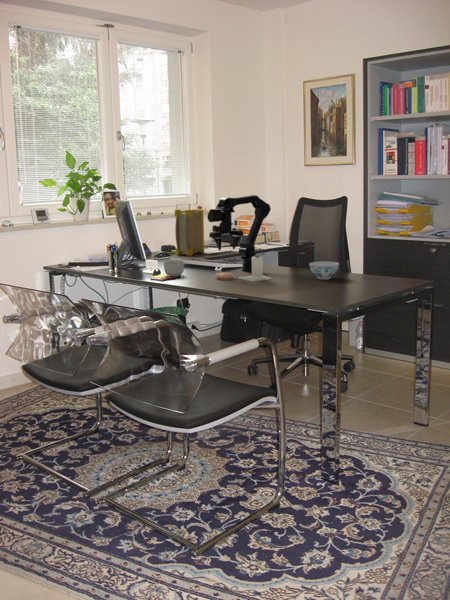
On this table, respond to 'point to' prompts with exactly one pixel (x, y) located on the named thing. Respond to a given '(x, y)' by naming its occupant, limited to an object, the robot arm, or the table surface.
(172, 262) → the teacup
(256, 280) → the mat
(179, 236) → the decorative book
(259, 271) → the cover
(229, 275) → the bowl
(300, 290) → the table surface
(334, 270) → the chinaware
